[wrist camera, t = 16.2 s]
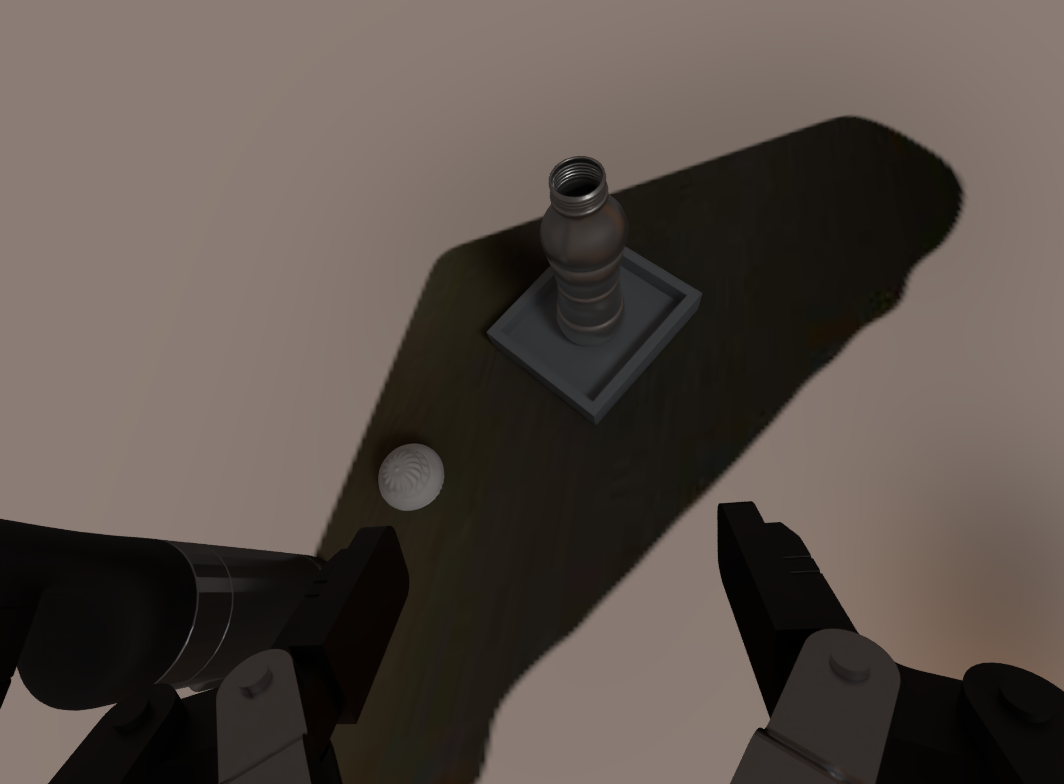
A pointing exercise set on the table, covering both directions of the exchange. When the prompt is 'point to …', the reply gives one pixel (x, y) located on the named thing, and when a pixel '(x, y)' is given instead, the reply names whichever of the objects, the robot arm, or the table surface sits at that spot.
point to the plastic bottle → (585, 251)
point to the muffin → (411, 477)
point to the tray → (606, 369)
